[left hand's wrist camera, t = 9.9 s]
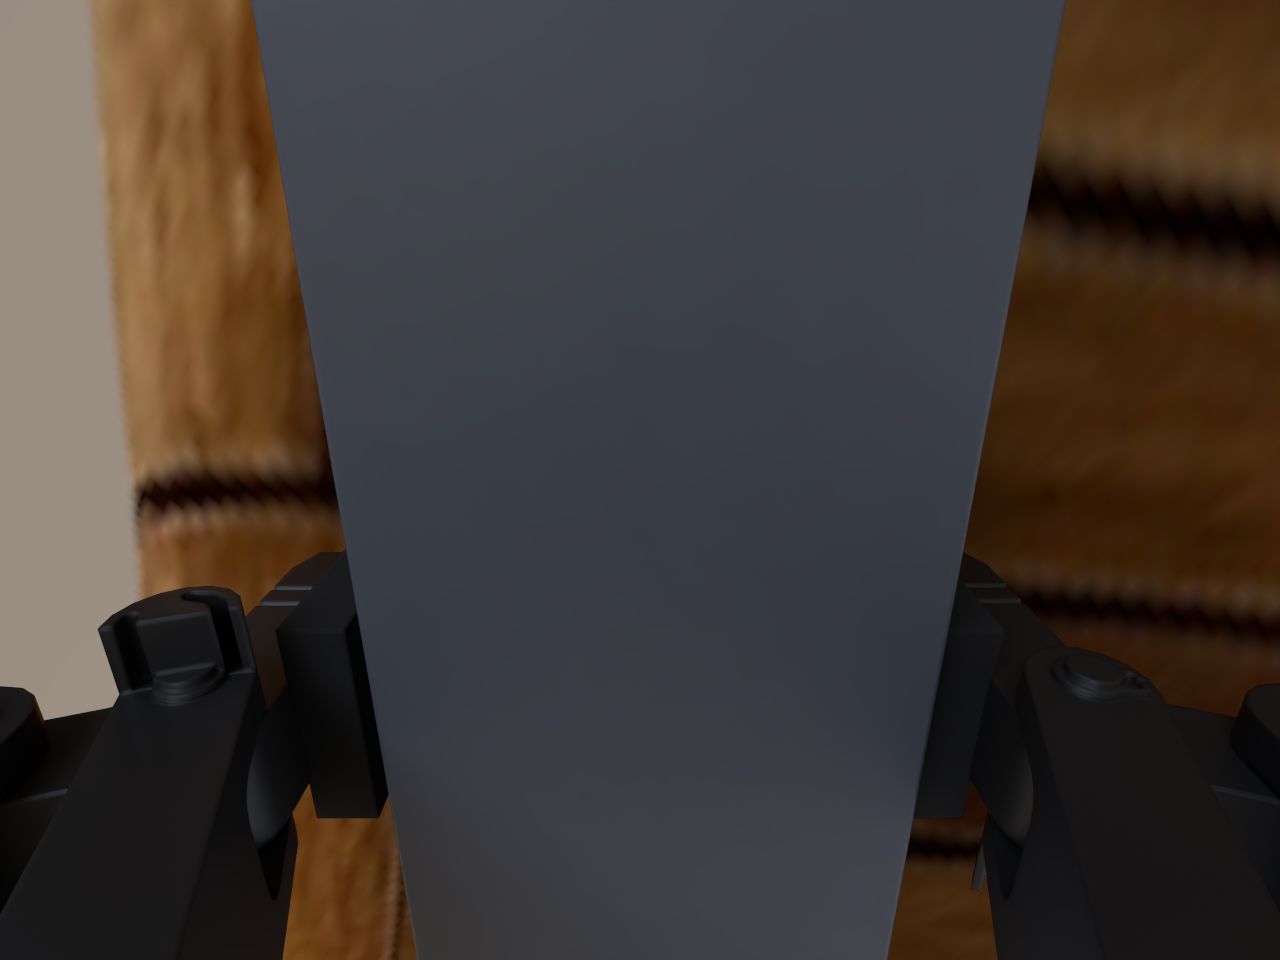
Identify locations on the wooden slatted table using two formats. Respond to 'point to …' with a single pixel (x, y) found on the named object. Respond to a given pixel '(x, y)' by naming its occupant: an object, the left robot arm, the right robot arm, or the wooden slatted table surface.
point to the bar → (655, 436)
